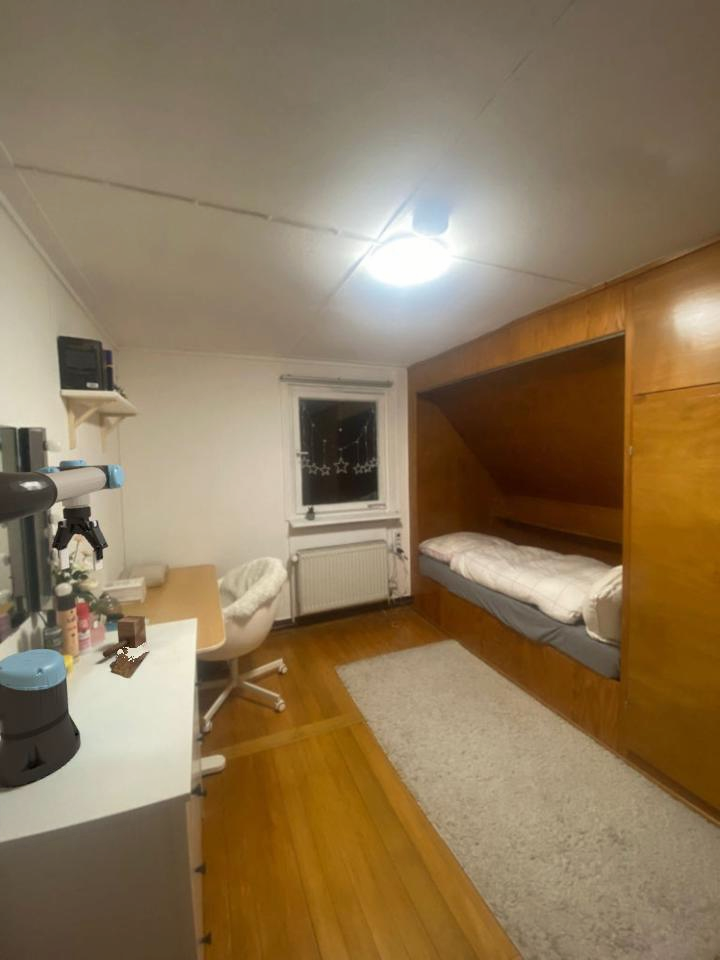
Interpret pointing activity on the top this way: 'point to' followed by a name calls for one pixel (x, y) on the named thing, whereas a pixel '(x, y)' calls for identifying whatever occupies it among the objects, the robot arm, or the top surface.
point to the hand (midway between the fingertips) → (81, 569)
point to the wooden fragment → (126, 664)
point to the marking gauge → (129, 634)
